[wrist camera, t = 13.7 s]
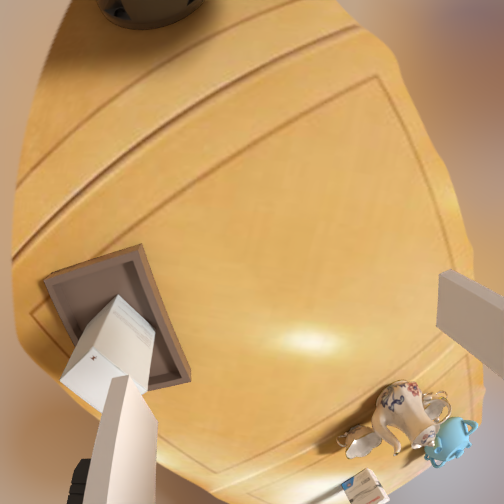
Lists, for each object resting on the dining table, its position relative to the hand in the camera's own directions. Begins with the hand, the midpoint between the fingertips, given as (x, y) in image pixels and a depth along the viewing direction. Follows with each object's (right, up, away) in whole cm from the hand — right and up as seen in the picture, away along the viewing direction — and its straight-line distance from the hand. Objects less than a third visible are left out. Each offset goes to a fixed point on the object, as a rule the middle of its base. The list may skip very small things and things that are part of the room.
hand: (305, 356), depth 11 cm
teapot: (+53, -48, +55) cm, 90 cm away
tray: (-20, -6, +28) cm, 35 cm away
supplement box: (-20, -6, +28) cm, 35 cm away
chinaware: (+27, -28, +44) cm, 59 cm away
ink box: (+26, -57, +52) cm, 82 cm away
